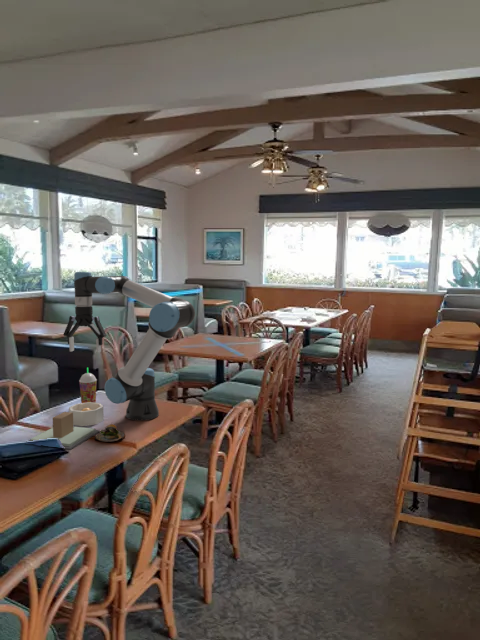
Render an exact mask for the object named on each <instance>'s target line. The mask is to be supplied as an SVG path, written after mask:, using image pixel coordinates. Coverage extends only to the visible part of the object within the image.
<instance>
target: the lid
mask: <svg viewBox="0 0 480 640" xmlns="http://www.w3.org/2000/svg"><path fill="white" fill-rule="evenodd" d="M95 430H96V429H95V428H91V427H84V426H74V425H73V413H72V412H69V411H64V412H61V413H59V414H57V415H55V416H53V417H52V427H51V428H50V429H47V430H45V431H43V432H42V433H39V434H38V435H36V436H34V437H32V438H30V439H29V440H30V441H33V440H39V439H47V438H58V439H59V440H60V441H61V443H62V445H63V446H71V445H73V444H75V443H76V442H78V441H80V440H81V439H83V438H84V437H86V436H88V435H89V434H91V433H93V432H94V431H95Z"/></svg>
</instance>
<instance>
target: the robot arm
mask: <svg viewBox="0 0 480 640" xmlns="http://www.w3.org/2000/svg"><path fill="white" fill-rule="evenodd" d="M73 285H74V305H75V307H74V310H75V311H74V312H75V313H74V314H75V315H70V316H69V317H68V322H67V325H66V327H65V330H64V331H63V336H65V337H67V344H68V345H69V352H71V353H72V352H73V351H75V338H74V336H73V335H74V334H75V333H76V331H78V329H79V327H88V328H89V329H90V330H91V331H92V332H93V333H94V336H96V337H97V338H96V339H95V340H96V343H95V344H96V353H97V354H98V353H102V346H103V338H105V337H107V333H106V331H105V329H104V328H103V325H102V322H101V320H100V316H93V306H92V305H93V294H100V295H108V294H112V293H119V294H121V295H123V296H126V297H128V298H131V299H133V300H135V301H136V302H140V303H142V304H144V305H145V306H149V307H151V309H150V312H149V315H148V318H149V319H148V321H149V322H148V329H147V332H146V333H145V335H144V336H143V338H142V339H141V341H140V343H139V344H138V345H137V347H136V349H135V350H134V352H133V353H132V355H131V357H130V358H129V360H128V361H127V363H126V365H125V366H121V367H120V368H119V369H118V370H117V372H116V373H115V375H114V376H113V377H111V378H108V379H107V380H106V381H105V384H104V392H105V393H104V394H105V396H106V397H107V399H108V401H110V402H111V403H113V404H115V405H116V404H117V405H119V404H124V403H126V402H128V405H127V408H126V411H125V417H126V419H128V420H132V421H148V420H149V421H150V420H153V419H156V418H157V417H158V416H159V414H160V413H159V407H158V404H157V402H156V396H155V394H156V393H155V391H156V390H155V389H156V388H155V383H156V381H155V379H156V376H155V370H154V369H153V368H150V367H149V366H150V365H151V363H152V362H153V361H154V359H156V356H157V355H158V353H159V352H160V351H161V349H162V347H163V345H165V342H166V341H167V340H170V339H172V338H173V337H174V335H175V334H176V332H177V331H178V330H179V329H181V328H185V327H188V326H190V324H192V323H193V321H194V320H195V317H196V310H195V307H194V305H193V304H192V303H191V302H190V301H188V300H186V299H183V298H182V297H178V296H170V295H168V294H165V293H162V292H160V291H158V290H155V289H153V288H150V287H148V286H145V285H143V284H140V283H138V282H136V281H133V280H132V279H131V278H130V277H129V276H126V275H113V276H112V275H111V276H110V275H109V276H105V275H104V276H93V275H92V272H90V271H76V272H74V279H73ZM75 321H76V322H75ZM74 323H75V324H74ZM73 325H74V326H73Z"/></svg>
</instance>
